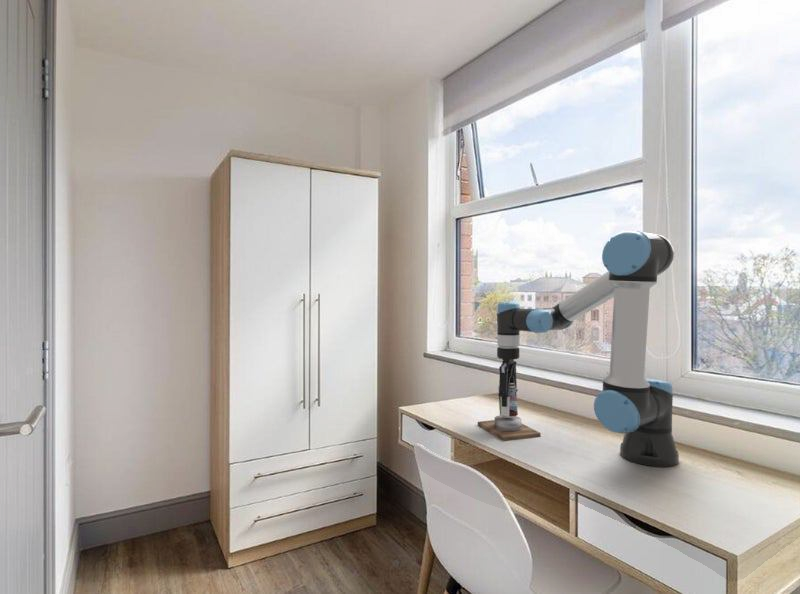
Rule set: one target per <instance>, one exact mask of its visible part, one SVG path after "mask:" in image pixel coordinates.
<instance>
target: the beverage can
mask: <svg viewBox="0 0 800 594" xmlns="http://www.w3.org/2000/svg"><path fill="white" fill-rule="evenodd" d="M516 389H517V388H516V386H515V385H514V383H510V384H509V396H508V397H509V416H502V417H504V418H514V417H516V416H517V417H518V415H519V414H518V398H517V397H518V395H517V392H518V391H517V392H516ZM498 390H499V386H498ZM503 393H504V392H503ZM498 405H499V407H498V408H499V415H501V397H500V396H498Z"/></svg>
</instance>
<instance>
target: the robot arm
mask: <svg viewBox="0 0 800 594" xmlns="http://www.w3.org/2000/svg"><path fill="white" fill-rule="evenodd" d="M674 256H675V251H674V247H673V245H672V243H671V242H670V240H668V238H666V237H665V236H663V235H660V234H659V233H652V232H651V233H649V232H644V231H639V230H627V231H625V230H624V231H621V232H618V233H616V234H614V235H612V237H611V238H610V239H608V241H606V243H605V245H604V246H603V250H602V254H601V260H602V264H603V266H604V267H605V268H606V270H607V272H605V273H603V274H602V275H600V276H599V277H597V278H595V279H594V280H593V281H591V282H589V283H587V284H586V285H585V286H583V287H581V288H580V289H579V290H577V291H575V292H574V293H572V294H571V295H569V296H568V297H566V298H565V299H562V301H560V302H559V303H557V304H555V305H554V306H553V307H547V308H546V307H545V308H521V307H520V302H517V301H504V302H503V301H502V302H499V303H498V304H497V309H496V310H497V311H496V312H497V313H496V322H497V325H496V328H497V332H496V333H497V335H496V337H495V339H496V344H497V348H496V357H497V358H498V359H500V360H502V363H501V364H500V366H499V367H498V370H499V381H498V383H499V385H498V387H499V389H498V394H497V395H498V397H499V396H500V397H501V416H509V397H508V396H509V384H510V383H514V385H515V386H516V392H518V391H519V389H518V386H517V361H515V360H519V358H520V348H519V347H520V345H521V344H520V343H521V342H520V340H521V339H520V332H528V333H529V332H530V333H535V334H545V333H548V331H558V330H559V331H562V330H564V329H568V328H570V327H571V326H572V325H573V323H574V321H576V320H578V319H579V318H581V317H582V316H584V315H586V314H587V313H590V312H591V311H593V310H594V309H596V308H598V307H600V306H601V305H604V303H606V302H608V301H609V300H611V299H613V307H612V308H613V310H612V311H613V312H612V326H611V340H610V341H611V342H610V356H609V357H610V358H609V359H610V361H609V373H608V374H607V375H606V376H604V377H603V379H602V391H600V392H599V393H598V395H597V396H596V397H595V399H594V402H593V411H594V415H595V417H596V418H597V421H599V423H600V424H601V425H602V426H603V427H604V428H605V429H606V430H608V431H610V432H613V433H617V434H624V436H623V439H622V442H621V443H620V445H619V447H620V448H619V454H620V456H621V457H623V459H626V460H628V461H630V462H633V463H635V464H639V465H643V466H650V467H659V468H660V467H661V468H662V467H663V468H664V467H674V466H676V465H678V464H679V461H680V458H679V457H680V455H679V450H677V448H676V443H675V439H674V437H673V398H674V397H673V396H674V393H673V386H672V384H671V382H668V381H666V380H661V379H655V378H654V379H653V378H648V377H645V370H646V353H647V341H648V340H647V338H648V337H647V336H648V326H649V325H648V321H649V311H650V310H649V307H650V293H651V292H650V291H651V288H652V287H654V286H655V285H656V284H657V281H658V276H659V275H661V274H662V273H664V272H666V271H667V270H668V268H670V266H671V265H672V263H673V261H674V258H675V257H674ZM503 392H504V393H503Z"/></svg>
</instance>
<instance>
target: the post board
mask: <svg viewBox="0 0 800 594" xmlns="http://www.w3.org/2000/svg"><path fill="white" fill-rule="evenodd" d="M477 426H478V427H480V428H481V429H484V431H487V432H488V433H490V434H491V435H493V436H494V437H496V438H498V439H499V440H501V441H502V442H505V441H513V440H523V439H530V438H531V439H532V438H540V437H541V435H542V433H541V432H540V431H538V430H536V429H534V428H531V427H530V426H528V425H526V424H524V423H522V418H521V417H519V416H518V415H517V416H516V417H514V418H504V417H502V416H501V415H500V414H498V415H496V416H494V419H491V420H484V421H483V420H482V421H477Z"/></svg>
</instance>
